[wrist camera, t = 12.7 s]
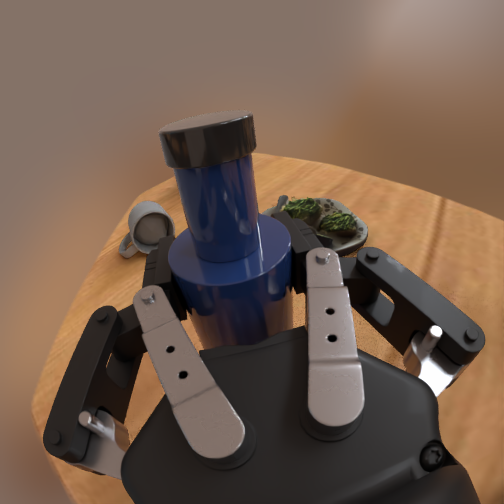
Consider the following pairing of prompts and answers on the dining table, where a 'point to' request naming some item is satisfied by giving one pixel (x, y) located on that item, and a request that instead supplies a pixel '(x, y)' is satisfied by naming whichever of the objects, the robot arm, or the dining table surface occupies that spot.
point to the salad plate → (326, 222)
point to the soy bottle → (226, 234)
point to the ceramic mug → (146, 228)
